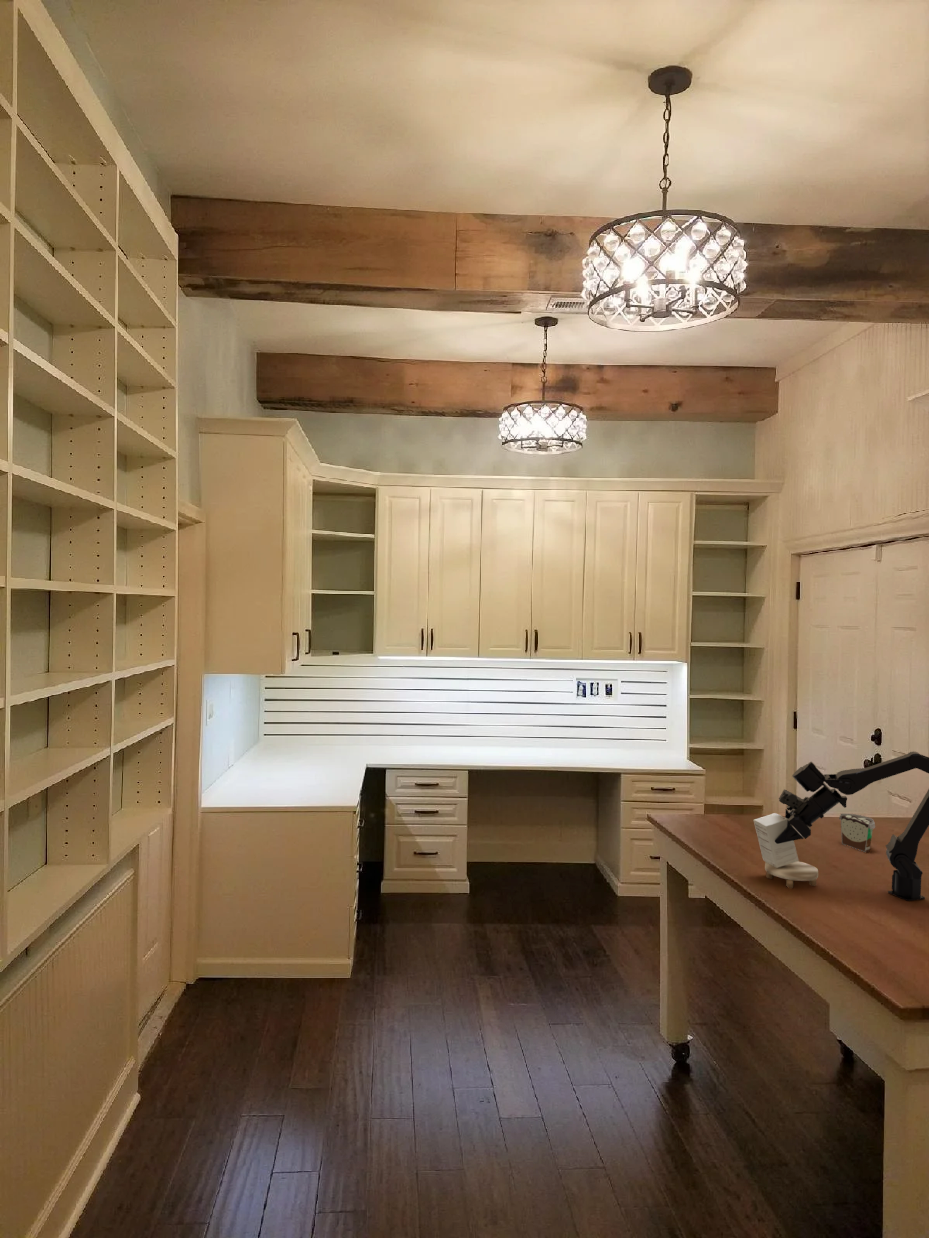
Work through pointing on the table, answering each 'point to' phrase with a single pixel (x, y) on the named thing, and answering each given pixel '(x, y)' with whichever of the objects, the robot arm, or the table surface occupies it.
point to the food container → (856, 831)
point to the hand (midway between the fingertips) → (775, 837)
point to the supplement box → (767, 834)
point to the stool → (793, 873)
